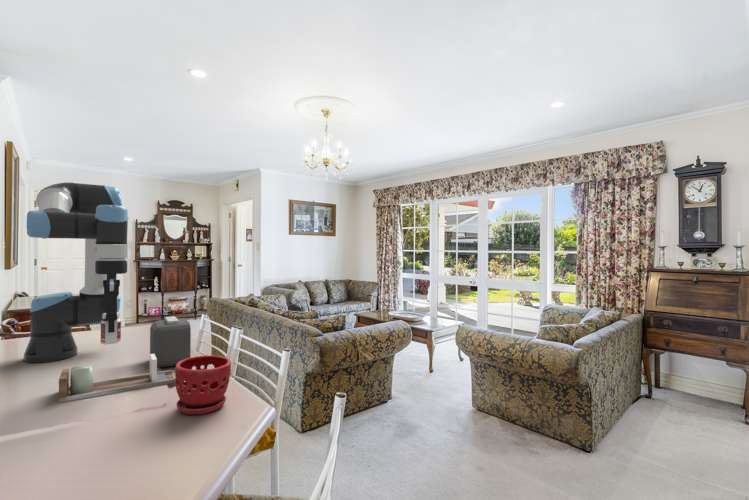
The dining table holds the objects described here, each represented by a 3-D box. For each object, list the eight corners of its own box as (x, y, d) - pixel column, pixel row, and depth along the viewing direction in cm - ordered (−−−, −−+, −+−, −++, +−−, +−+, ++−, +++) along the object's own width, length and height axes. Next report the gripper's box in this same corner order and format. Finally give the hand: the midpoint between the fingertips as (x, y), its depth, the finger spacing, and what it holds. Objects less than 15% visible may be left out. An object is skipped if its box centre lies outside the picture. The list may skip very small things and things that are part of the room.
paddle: (149, 376, 117) (149, 354, 117) (164, 374, 119) (164, 352, 119) (152, 383, 111) (152, 359, 111) (167, 381, 113) (167, 357, 113)
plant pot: (174, 423, 89) (175, 372, 89) (175, 402, 101) (175, 357, 101) (233, 412, 95) (233, 365, 95) (227, 394, 107) (227, 352, 107)
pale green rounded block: (70, 391, 105) (71, 366, 105) (93, 388, 108) (93, 363, 108) (69, 397, 101) (69, 371, 101) (92, 393, 104) (93, 368, 104)
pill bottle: (110, 345, 105) (110, 314, 105) (96, 344, 106) (96, 314, 106) (125, 341, 110) (125, 312, 110) (111, 340, 111) (111, 311, 111)
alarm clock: (190, 365, 133) (190, 321, 133) (152, 371, 126) (153, 324, 126) (183, 354, 146) (183, 313, 146) (149, 358, 140) (149, 316, 140)
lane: (62, 394, 106) (62, 368, 106) (171, 376, 122) (171, 354, 121) (58, 406, 98) (58, 379, 98) (176, 385, 113) (176, 362, 113)
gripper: (95, 258, 113) (95, 337, 113) (94, 261, 99) (93, 350, 99) (126, 258, 117) (125, 334, 118) (128, 260, 103) (128, 346, 103)
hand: (110, 341), depth 108 cm, fingers closed on pill bottle, 5 cm apart
